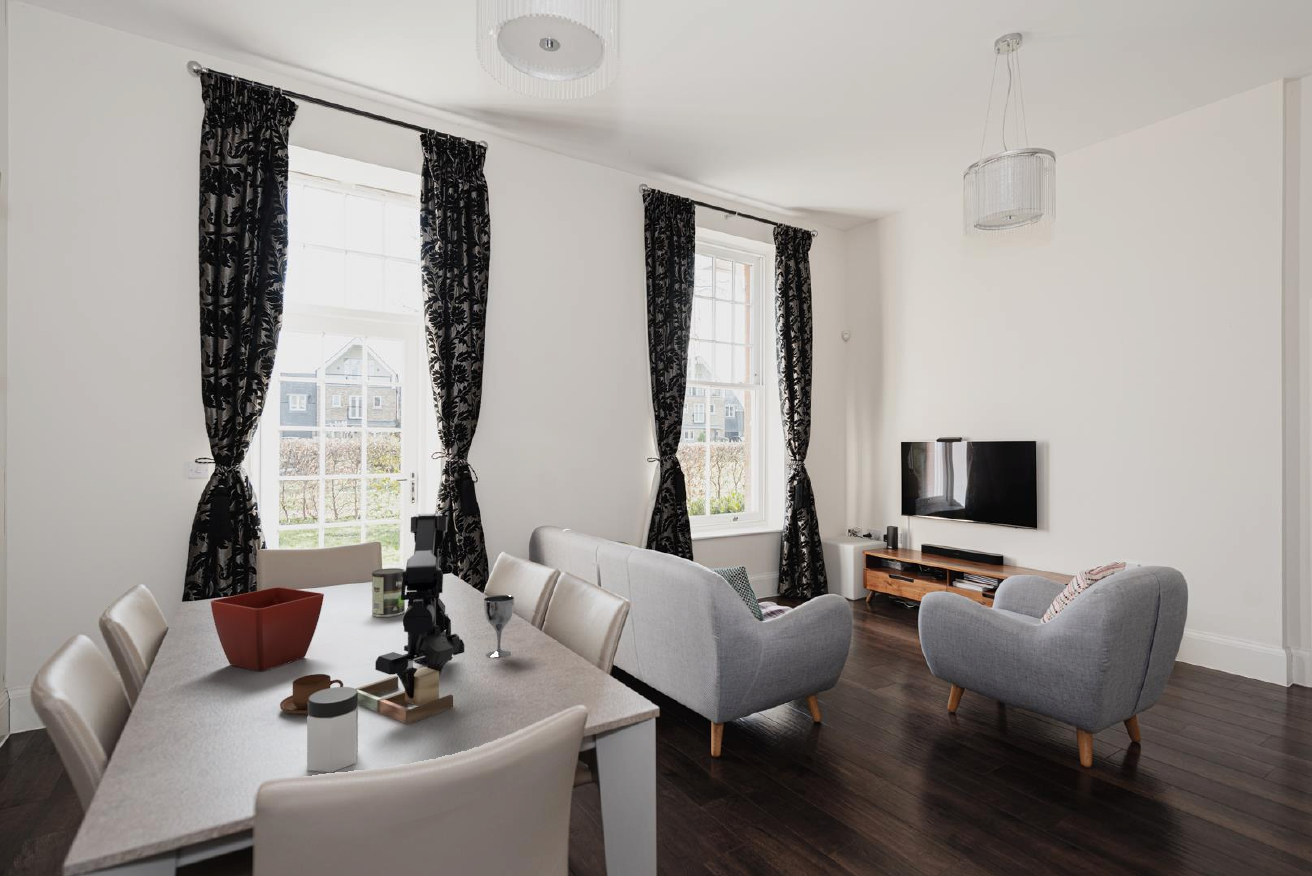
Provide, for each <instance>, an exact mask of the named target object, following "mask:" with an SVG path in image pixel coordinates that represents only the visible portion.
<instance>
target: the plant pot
mask: <svg viewBox="0 0 1312 876" xmlns="http://www.w3.org/2000/svg"><path fill="white" fill-rule="evenodd" d="M324 596H325V594H324V593H323V592H322V593H320V592H315V591H309V590H307V591H306V590H301V589H294V588H293V589H292V588H288V587H281V586H278V587H271V588H265V589H261V590H256V591H252V592H251V591H250V592H247V593H242V594H236V595H231V596H227V597H222V598H221V597H220V598H216V599H213V600H211V601H210V606H211V613H212V618H213V622H214V626H215V629H216V633H217V636H218V640H219V643H220V644H221V647H222V649H223V652H224V655H225V656H226V659H227V661H228V663H229V665H231V666H236V667H240V668H244V669H248V670H250V671H251V670H252V671H257V672H263V671H268V670H271V669H275V668H276V667H281V666H283V665H287V664H289V663H293V662H296V661H298V660H301V659H305V657H306V655H307V653H308V651H309V648H310V646H311V644H312V641H313V638H314V635H315V633H316V629H317V627H318V623H319V619H320V615H321V612H322V607H323V603H324V602H323V601H324Z"/></svg>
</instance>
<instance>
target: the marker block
mask: <svg viewBox="0 0 1312 876" xmlns="http://www.w3.org/2000/svg"><path fill="white" fill-rule="evenodd" d="M416 669H417V671H416V672H415V674H414V696H413V698H412V699H411V698H409V697H408V695H407V693H406V690H405V689H404V691H405V701H406V702H409V704H412V705H415V706H416V707H418V706H420V705H423V704H426V703H428V702H431V701H434V700H437V699H439V698H440V676H439V671H437V670H434V669H430V668H427V666H423V667H420V668H416Z"/></svg>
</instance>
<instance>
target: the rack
mask: <svg viewBox="0 0 1312 876" xmlns="http://www.w3.org/2000/svg"><path fill="white" fill-rule="evenodd" d="M397 688H399V677H398V675H395V676H391V677H387V678H385V679H381V680H378V681H376V682H373V683H368V684H366V685H362V686H360V687H357V688H355V689H356V690H357V691H358V706H359V705H360V706H362V707H365V708H366V709H370V710H372V711H374V712H377V713H379V714H382V715H384V716H386V717H389V718H392V719H395V720H397V721H399V722H402V723H404V724H407V725H411V724H413V723H416V722H418V721H421V720H424V719H426V718H429V717H432V716H433V715H436V714H438V713H441V712H444V711H446V710H447V711H448V710H449V709H452V708H454V695H453V694H447V695H446V696H442V697H439V699H437V700H434V701H431V702H428V703H426V704H423V705H420V706H415V707H412V708H408V707H405V705H407V704H408V703H409V702H406V701H405V690H403V691H399V692H397V693H394V694H391V695H388V696H385V697H382V698H381V697H379V696H377V695H380V694H383V693H386V692H389V691H392V690H395V689H397ZM409 704H410V703H409ZM403 705H404V706H403Z"/></svg>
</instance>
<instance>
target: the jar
mask: <svg viewBox="0 0 1312 876" xmlns="http://www.w3.org/2000/svg"><path fill="white" fill-rule="evenodd" d="M307 704H308V705H307V706H308V707H307V708H308V714H307V718H306V737H307V738H306V740H307V741H306V770H307V771H311V772H321V773H329V772H331V773H333V772H336V771H339V770H342V769H344V768H346V767H350V766H352V765H355V764H356V763H357V759H358V752H359V737H358V736H359V722H358V720H359V704H358V691H357V690H356V688H354V687H349V686H343V687H340V686H337V687H336V686H335V687H330V688H328V689H324V690H321V691H318V692H315V693H314V694H312V695H311V696H309V698H308V703H307Z"/></svg>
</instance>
